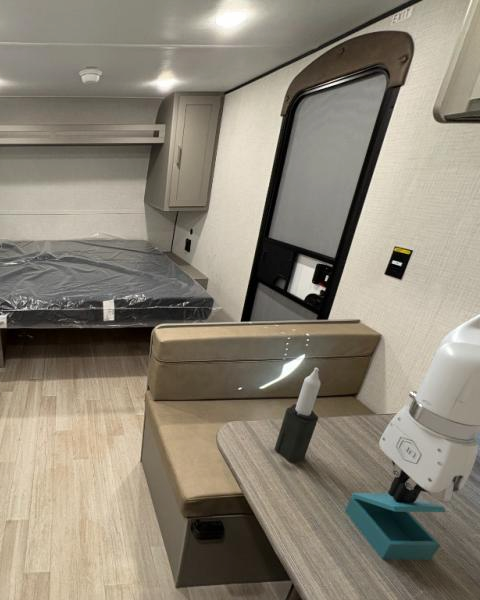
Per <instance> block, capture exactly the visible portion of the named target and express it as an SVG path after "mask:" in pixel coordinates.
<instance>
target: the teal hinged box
mask: <svg viewBox="0 0 480 600" xmlns="http://www.w3.org/2000/svg"><path fill="white" fill-rule="evenodd" d="M344 512H345V514H346V515H347V516H348V517H349V518H350V520H351V521H352V522H353V524H354V525H355V526H356V528H357V529H358V530H359V531H360V532H361V534H362V535H363V536H364V537H365V539H366V540H367V541H368V543H369V544H370V545H371V546H372V548H373V549H374V551H375V552H376V553H377V554H378V556H379V557H380V558H381V559H382V560H432V559H433V557H434V556H435V554H436V552H438V549H439V548H440V546H441V543H440V542H439V541H438V540H437V539H436V538H435V537H434V536H433V535H432V534H431V533H430V532H429V531H428V530H427V529H426V528H425V527H424V526H423V525H422V524H421V523H420V522H419V521H418V519H416V517H415V516H414V515H412V513H411V512H395V511H392V510H389V509H386V508H383V507H380V506H377V505H374V504H371V503H368V502H364V501H361V500H358V499H355V498H353V497H352V496H351V497H350V499H349V501H348V503H347V505H346V508H345V510H344Z"/></svg>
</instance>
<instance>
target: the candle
mask: <svg viewBox="0 0 480 600" xmlns="http://www.w3.org/2000/svg"><path fill="white" fill-rule="evenodd" d="M319 371H320V369H319V368H318V367H314V369H313V371H312V372H311V373H310V375H308V376H306V377H305V378H304V379H303V380H304V381H303V383H302V386H301V389H300V392H299V395H298V399H297V402H296V404H295V403H294V404H292V405H291V406H289V407H287V408H286V409H285V413H284V416H283V419H282V422H281V425H280V430H279V433H278V436H277V439H276V443H275V447H274V451H275V452H276V453H278V454H279V455H280V456H281V457H282V458H284V459H285V460H286V461H287V462H288V463H290V464H293V465H295V464H297V463H299V462H301V461H303V460H305V457H306V454H307V452H308V449H309V446H310V443H311V441H312V437H313V434H314V432H315V429H316V426H317V423H318V420H319V416H318V415H317V414H316V413H315V412H314V410H313V408H314V406H315V402H316V400H317V397H318V393H319V392H320V391H319V390H320V387H321V380H320V378H319Z"/></svg>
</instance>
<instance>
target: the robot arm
mask: <svg viewBox="0 0 480 600" xmlns="http://www.w3.org/2000/svg"><path fill="white" fill-rule="evenodd" d="M408 396H409V398H411V399H412V402H411V403H410V405H404V406H403V407H402V408H401V409H400V410H399V411H398V412H397V413H396V414H395V415H394V416H393V417H392V419H391V420H390V421H389V423H388V425H387V426H386V428H385V429H384V430H383V433H382V435H381V437H380V438H379V439H380V440H379V442H378V446H379V448H380V449H381V451H382V452H383V453H384V454H385V455H386V456H387V457H388V458H389V459H390V460H391V462H392V466H393V468H392V474H393V476H394V478H393V481H392V483H391V484H390V488H389V490H388V491H387V493H388V494H389V495H390V496H392V497H393V499H394V500H395V501H396V502H407V503H413V502H415V501H416V499H417V500H418V497H419V496H420V494H421V492H423V493H428V494H429V496H431V497H433V498H434V499H435V500H437V501H438V502H440V503H451V502H452V500H453V499H452V498H453V493H458V492H460V491H461V490H462V488H463V487H464V486H465V484H466V483H467V481H468V479H469V478H470V475H471V472H472V470H473V468H474V465H475V464H476V463H475V462H476V460H477V456H478V451H479V446H480V445H479V444H480V442H479V441H477V437H478V436H479V434H480V313H479V314H478V315H475V316H474V317H472V318H471V319H468V320H467V321H465V322H464V323H461V325H459V326H458V325H457V327H455V328H454V329H452V330H451V331H450V332H449V333H447V334H446V335H445V336H444V337H443V338H442V339H441V341H440V343H439V345H438V347H437V350H436V352H435V354H434V355H433V358H432V360H431V362H430V364H429V366H428V368H427V370H426V372H425V374H424V376H423V378H422V380H421V382H420V385H419V387H418V389H417V390H413V391H410V393H409V394H408Z"/></svg>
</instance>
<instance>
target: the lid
mask: <svg viewBox="0 0 480 600" xmlns="http://www.w3.org/2000/svg"><path fill="white" fill-rule="evenodd" d="M351 497H353V498H355V499H358V500H361V501H364V502H368V503H371V504H374V505H377V506H380V507H383V508H386V509H389V510H392V511H395V512H409V513H446V509H445V506H443V505H440V504H439V505H438V504H435V503H432V502H428V501H424V500H421V499H418V498H417V499H416V501H415V502H413V503H407V502H396V501H395V500H394V499H393V497H392V496H390V495H389V494H388V492H385V493H384V492H383V493H381V492H376V493H375V492H351Z"/></svg>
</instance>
